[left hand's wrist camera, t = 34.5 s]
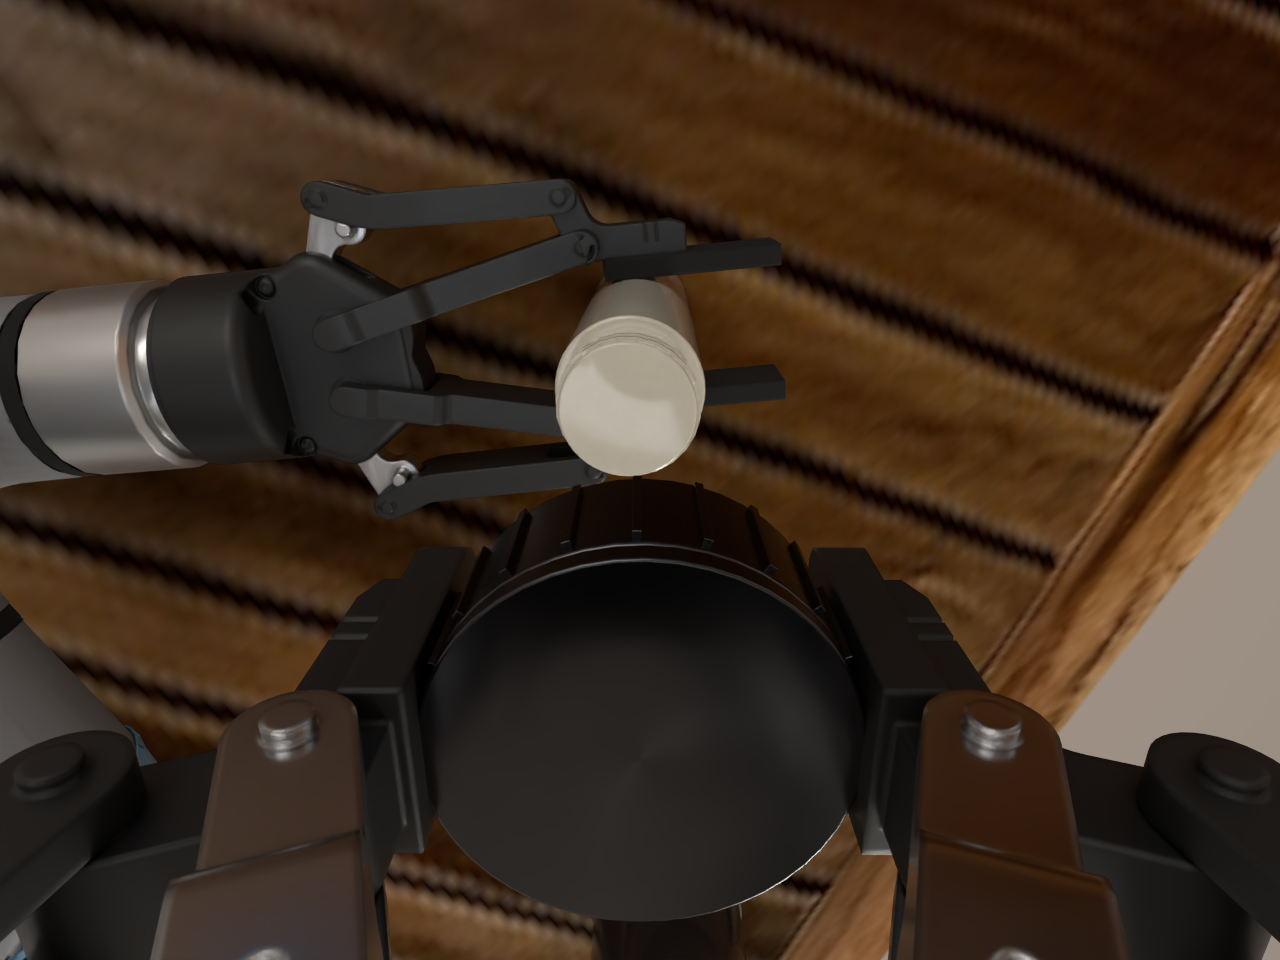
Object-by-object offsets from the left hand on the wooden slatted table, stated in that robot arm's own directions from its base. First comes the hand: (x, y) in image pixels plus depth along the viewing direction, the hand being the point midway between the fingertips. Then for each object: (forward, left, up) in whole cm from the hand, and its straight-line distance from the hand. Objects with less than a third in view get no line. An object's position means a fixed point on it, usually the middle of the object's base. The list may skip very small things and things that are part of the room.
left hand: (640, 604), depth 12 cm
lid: (0, 0, +3) cm, 3 cm away
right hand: (+3, -5, -21) cm, 21 cm away
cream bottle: (0, 0, -27) cm, 27 cm away
